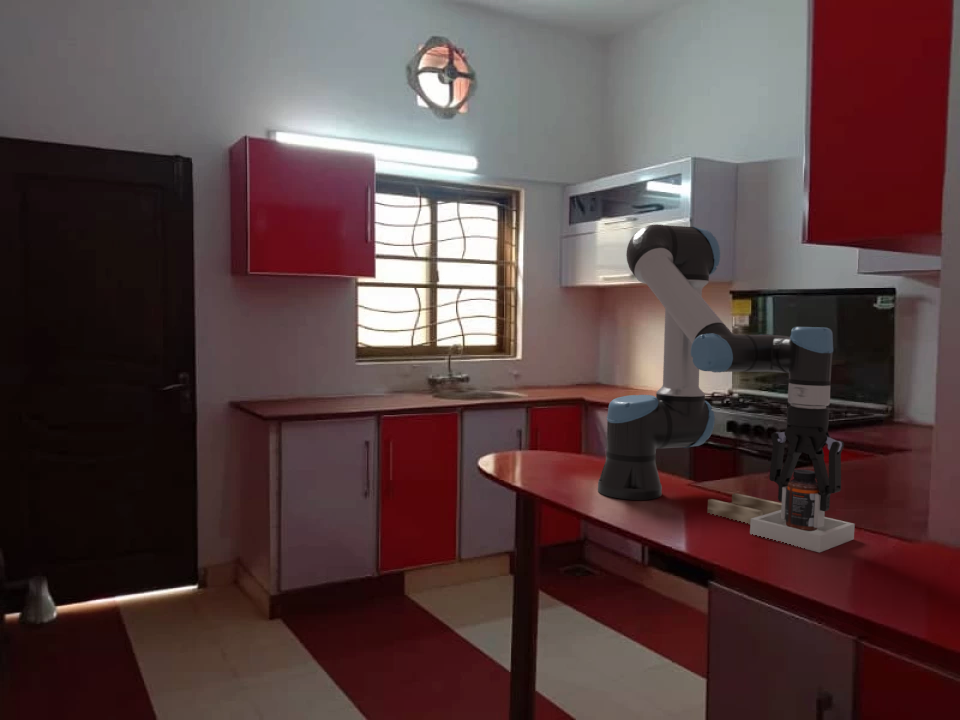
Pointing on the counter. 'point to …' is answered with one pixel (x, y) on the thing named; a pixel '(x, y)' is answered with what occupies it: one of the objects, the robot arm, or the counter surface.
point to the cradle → (742, 507)
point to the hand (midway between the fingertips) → (802, 522)
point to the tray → (803, 532)
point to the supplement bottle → (801, 500)
